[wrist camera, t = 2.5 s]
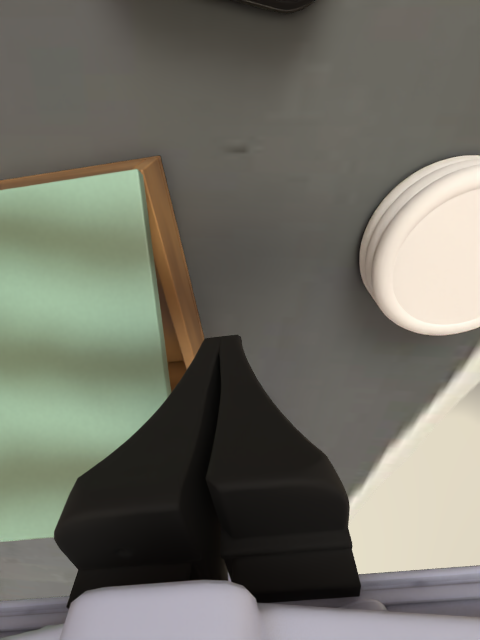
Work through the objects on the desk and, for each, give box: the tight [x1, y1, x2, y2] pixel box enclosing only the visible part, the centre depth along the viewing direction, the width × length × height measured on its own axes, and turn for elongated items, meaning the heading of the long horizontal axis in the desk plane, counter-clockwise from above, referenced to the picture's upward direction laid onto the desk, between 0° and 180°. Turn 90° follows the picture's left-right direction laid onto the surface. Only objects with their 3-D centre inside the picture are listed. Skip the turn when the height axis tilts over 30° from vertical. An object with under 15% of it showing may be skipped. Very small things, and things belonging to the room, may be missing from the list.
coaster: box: [359, 155, 480, 335], centre depth 20 cm, size 10×10×4 cm
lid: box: [0, 169, 171, 542], centre depth 15 cm, size 15×12×1 cm
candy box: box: [0, 156, 205, 392], centre depth 21 cm, size 14×12×4 cm
